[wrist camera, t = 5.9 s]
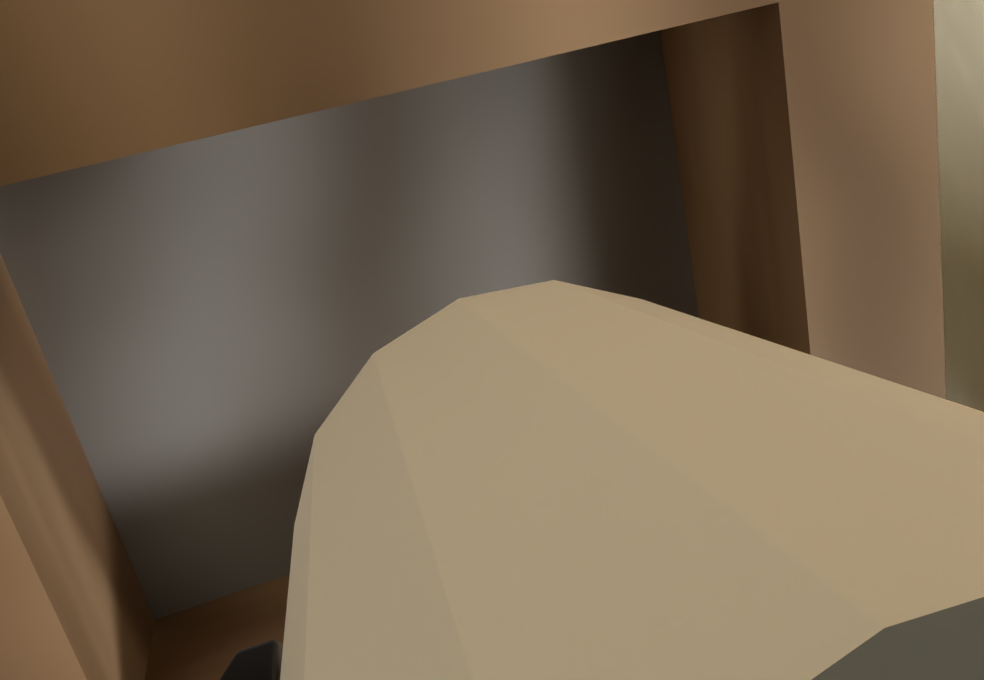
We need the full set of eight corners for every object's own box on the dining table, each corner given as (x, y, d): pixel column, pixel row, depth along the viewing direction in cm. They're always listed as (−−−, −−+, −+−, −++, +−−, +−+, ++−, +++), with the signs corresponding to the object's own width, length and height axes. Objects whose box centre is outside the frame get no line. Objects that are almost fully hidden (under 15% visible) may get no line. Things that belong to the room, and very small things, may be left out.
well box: (742, -149, 19) (925, -234, 14) (804, 480, 24) (952, 586, 19) (-263, 51, 15) (-522, 35, 10) (75, 739, 20) (17, 955, 15)
